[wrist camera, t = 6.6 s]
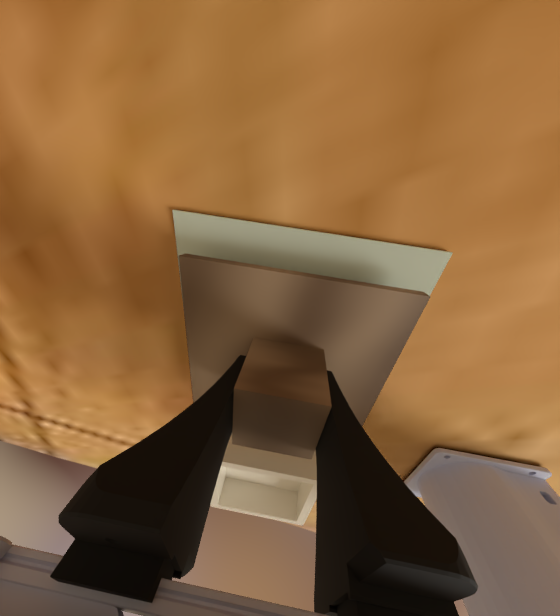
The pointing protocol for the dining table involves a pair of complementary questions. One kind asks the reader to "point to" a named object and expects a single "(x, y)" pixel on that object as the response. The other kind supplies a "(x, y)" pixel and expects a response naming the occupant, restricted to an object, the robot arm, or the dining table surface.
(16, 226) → the dining table surface
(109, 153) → the dining table surface
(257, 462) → the white square tray
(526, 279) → the dining table surface
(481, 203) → the dining table surface
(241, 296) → the lid
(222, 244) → the beige flat square piece
